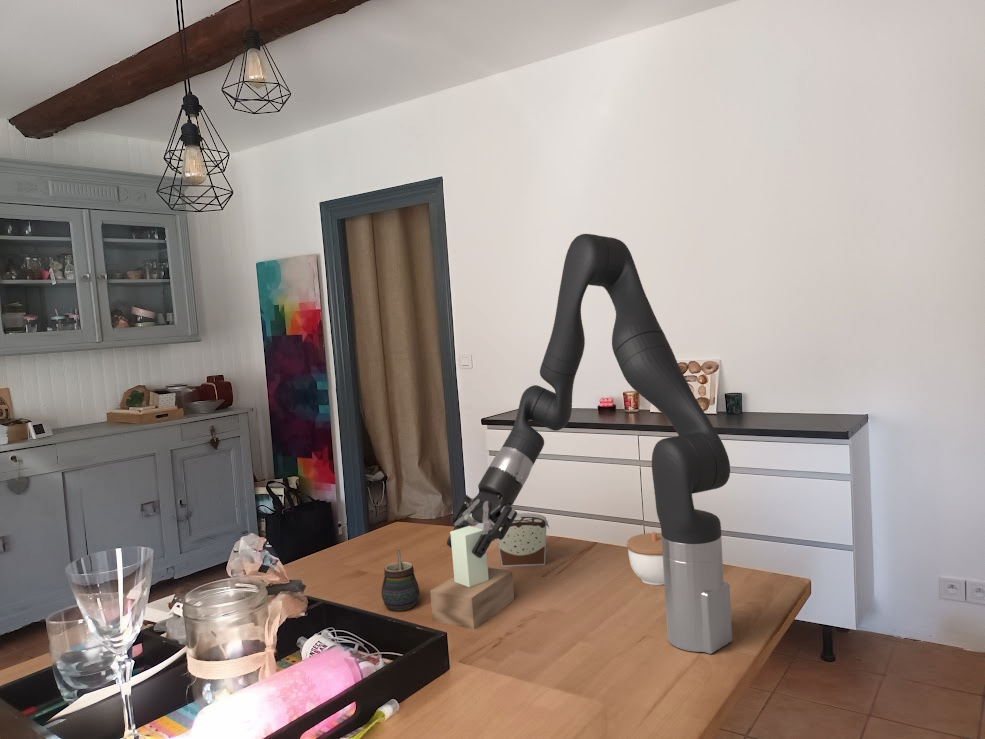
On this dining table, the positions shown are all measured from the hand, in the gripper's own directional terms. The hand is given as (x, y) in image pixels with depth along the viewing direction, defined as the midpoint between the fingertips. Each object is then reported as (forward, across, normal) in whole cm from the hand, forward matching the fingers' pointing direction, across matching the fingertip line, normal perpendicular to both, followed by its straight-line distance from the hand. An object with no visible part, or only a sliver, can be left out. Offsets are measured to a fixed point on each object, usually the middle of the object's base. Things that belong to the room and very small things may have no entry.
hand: (463, 551), depth 136 cm
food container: (-10, -12, +26) cm, 31 cm away
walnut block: (+7, 0, +10) cm, 12 cm away
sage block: (+3, 0, +5) cm, 6 cm away
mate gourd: (+13, -12, +4) cm, 18 cm away
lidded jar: (-16, +16, +33) cm, 40 cm away
